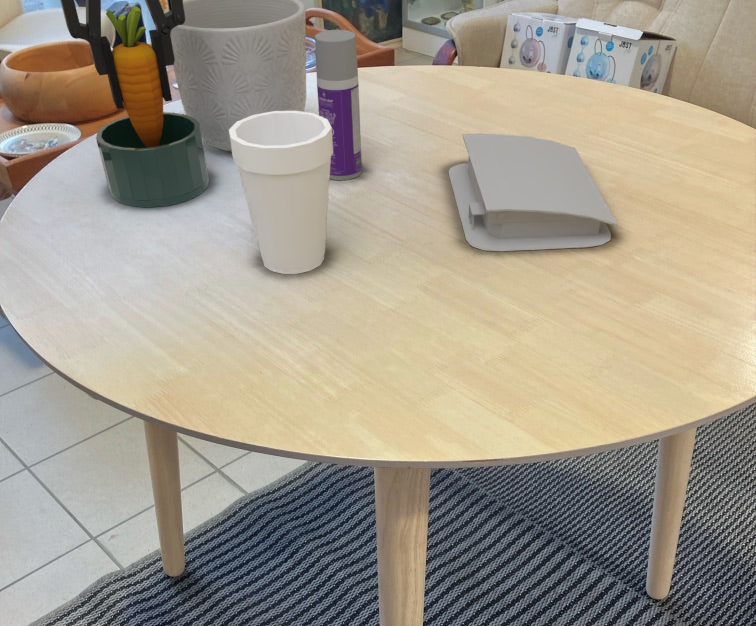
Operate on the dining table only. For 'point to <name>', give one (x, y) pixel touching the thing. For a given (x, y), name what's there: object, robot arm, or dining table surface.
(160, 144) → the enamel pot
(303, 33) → the planter
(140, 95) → the carrot
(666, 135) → the dining table surface
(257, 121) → the foam cup
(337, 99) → the container
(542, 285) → the dining table surface
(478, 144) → the grey flat folded piece
